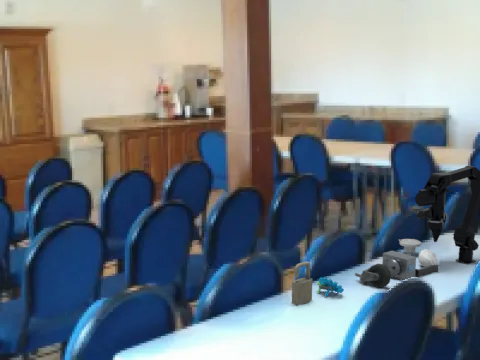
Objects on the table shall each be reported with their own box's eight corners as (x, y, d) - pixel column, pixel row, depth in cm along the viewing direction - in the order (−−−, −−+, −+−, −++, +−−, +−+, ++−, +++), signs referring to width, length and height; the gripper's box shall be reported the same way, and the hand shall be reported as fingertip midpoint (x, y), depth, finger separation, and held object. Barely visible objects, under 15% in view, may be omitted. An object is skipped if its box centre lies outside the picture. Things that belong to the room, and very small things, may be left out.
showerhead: (396, 236, 316) (418, 236, 316) (395, 251, 317) (417, 252, 317) (400, 242, 307) (423, 242, 306) (400, 257, 308) (422, 258, 308)
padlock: (290, 302, 251) (290, 263, 248) (305, 297, 256) (306, 259, 253) (298, 305, 248) (298, 265, 245) (313, 300, 253) (314, 261, 250)
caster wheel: (391, 289, 269) (358, 277, 278) (394, 266, 266) (361, 255, 276) (383, 293, 265) (351, 281, 274) (387, 269, 262) (353, 258, 272)
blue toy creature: (349, 291, 258) (335, 277, 253) (342, 305, 256) (328, 290, 251) (327, 288, 267) (313, 273, 262) (321, 301, 264) (306, 287, 259)
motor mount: (409, 263, 299) (410, 243, 297) (438, 272, 288) (440, 251, 286) (376, 274, 284) (377, 253, 283) (405, 283, 273) (406, 261, 272)
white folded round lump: (432, 270, 289) (433, 253, 288) (415, 267, 294) (415, 250, 292) (439, 266, 296) (440, 249, 294) (422, 263, 300) (423, 246, 299)
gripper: (421, 197, 301) (420, 232, 304) (415, 206, 284) (414, 243, 287) (447, 199, 297) (446, 234, 300) (443, 208, 280) (441, 245, 283)
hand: (436, 239), depth 292 cm, fingers open, 9 cm apart
